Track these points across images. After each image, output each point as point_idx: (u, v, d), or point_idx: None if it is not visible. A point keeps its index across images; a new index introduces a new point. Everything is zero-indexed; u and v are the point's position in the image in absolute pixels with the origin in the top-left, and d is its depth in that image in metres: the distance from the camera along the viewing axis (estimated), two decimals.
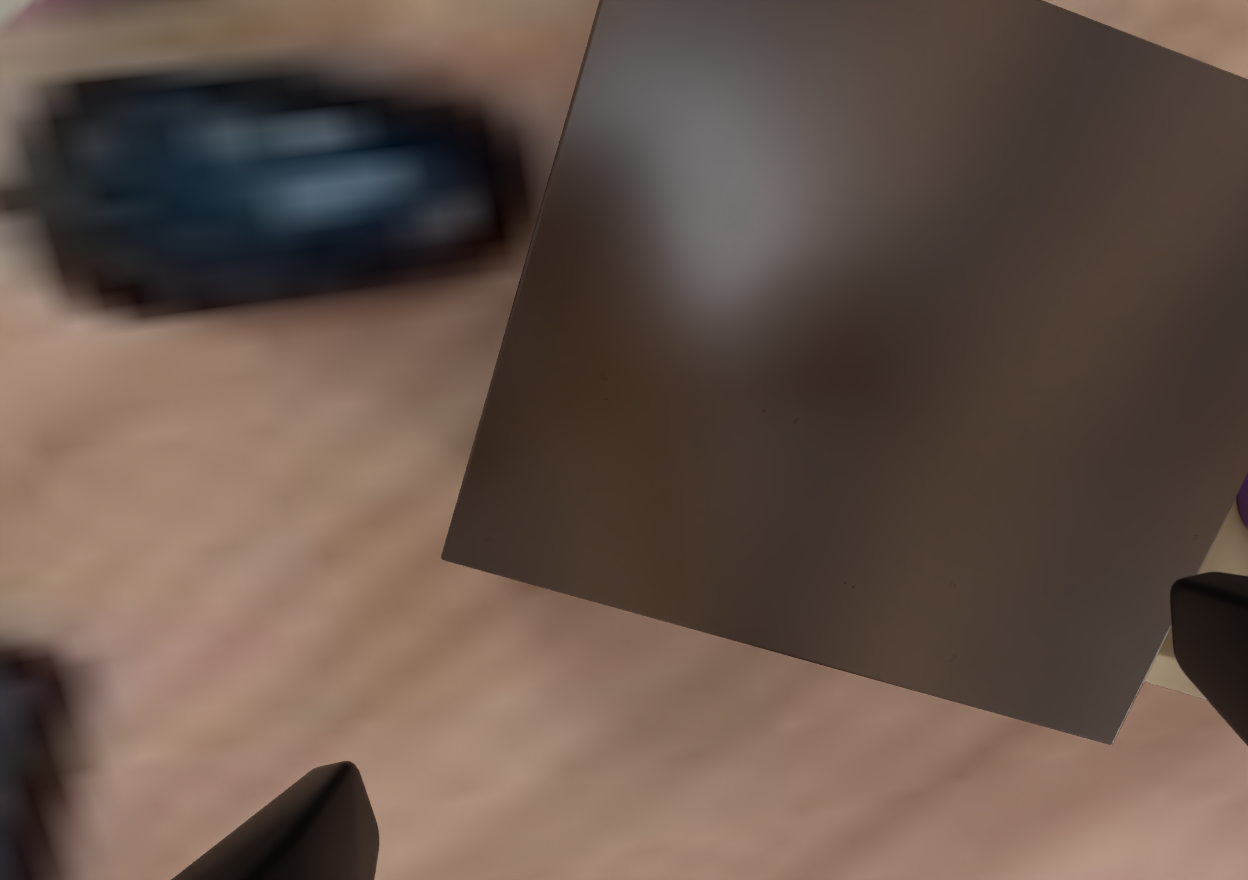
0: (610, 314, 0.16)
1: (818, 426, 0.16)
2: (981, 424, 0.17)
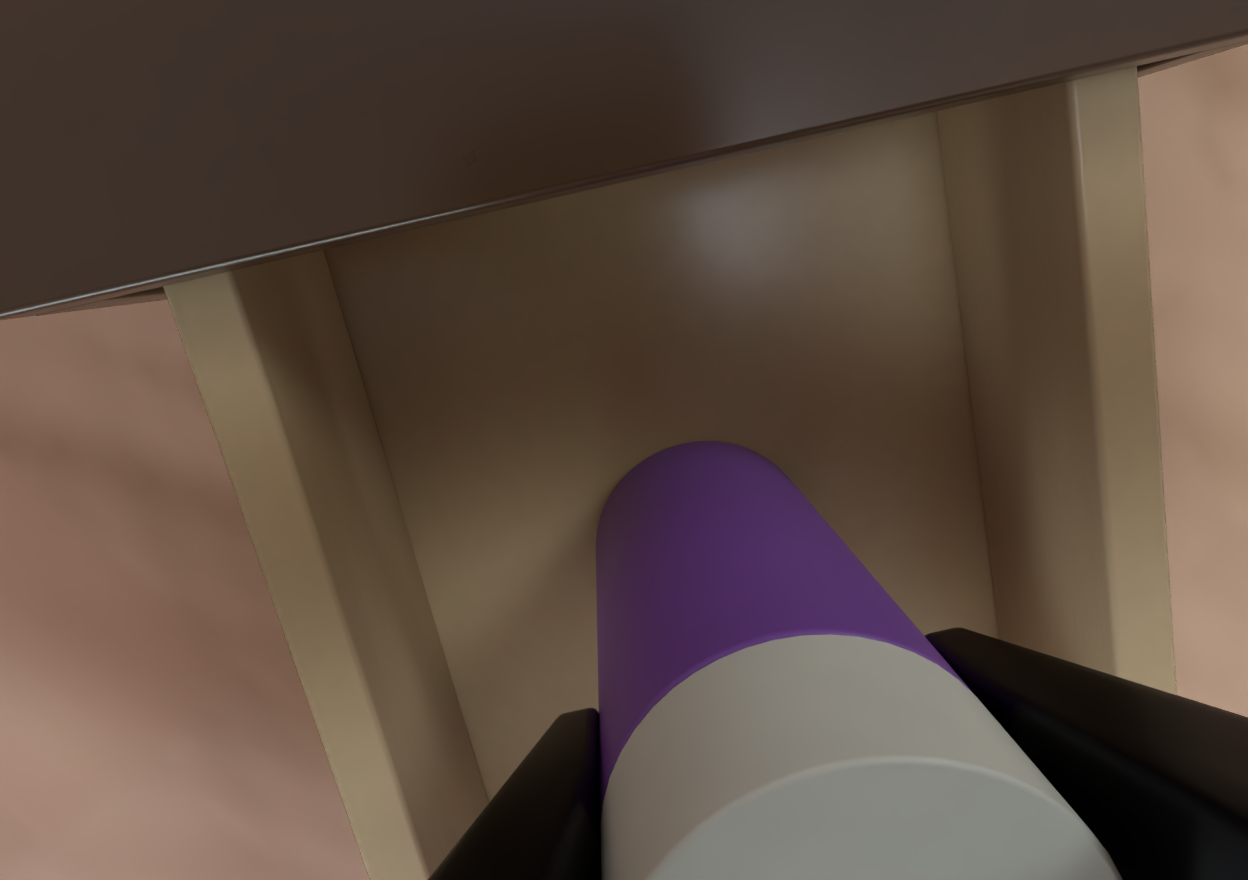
0: None
1: None
2: None
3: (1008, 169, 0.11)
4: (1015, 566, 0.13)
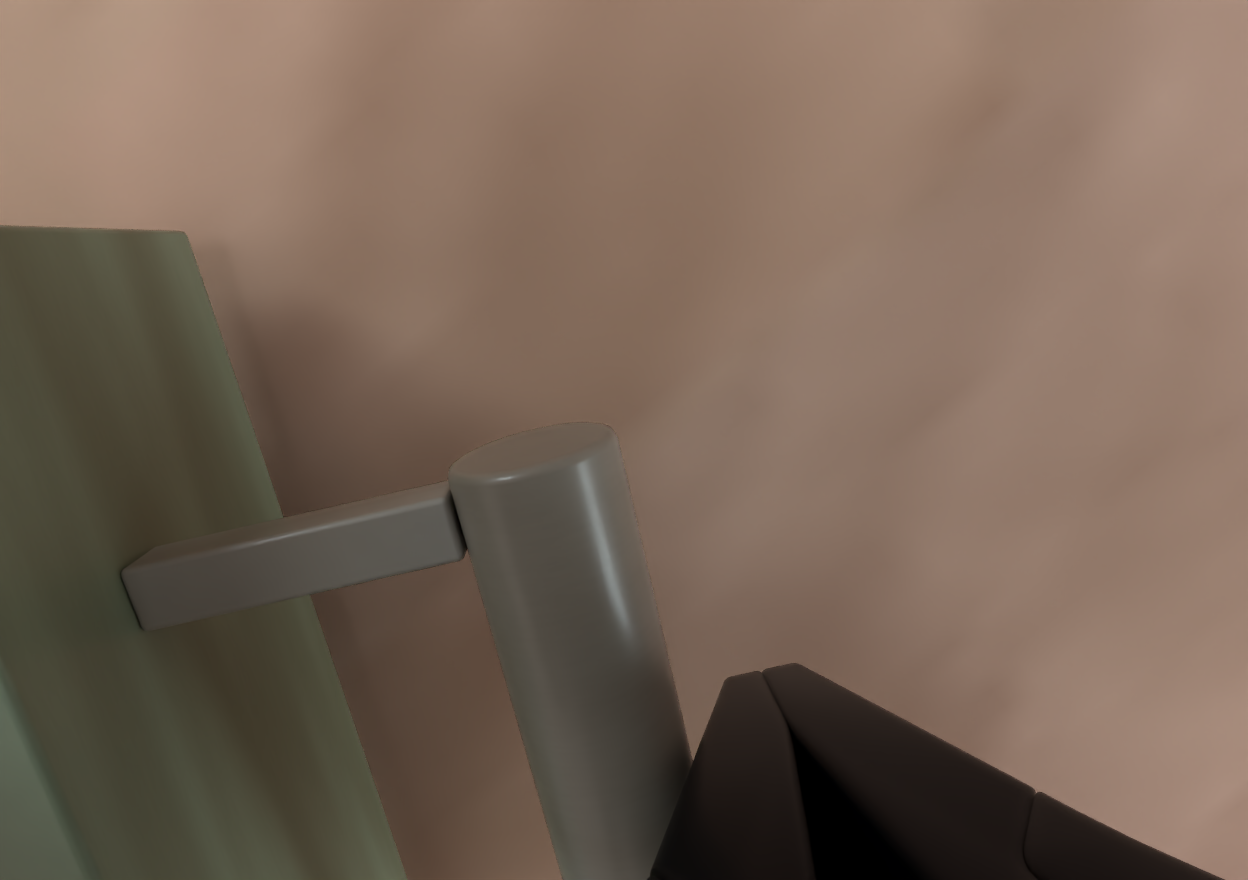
0: None
1: None
2: None
3: None
4: None
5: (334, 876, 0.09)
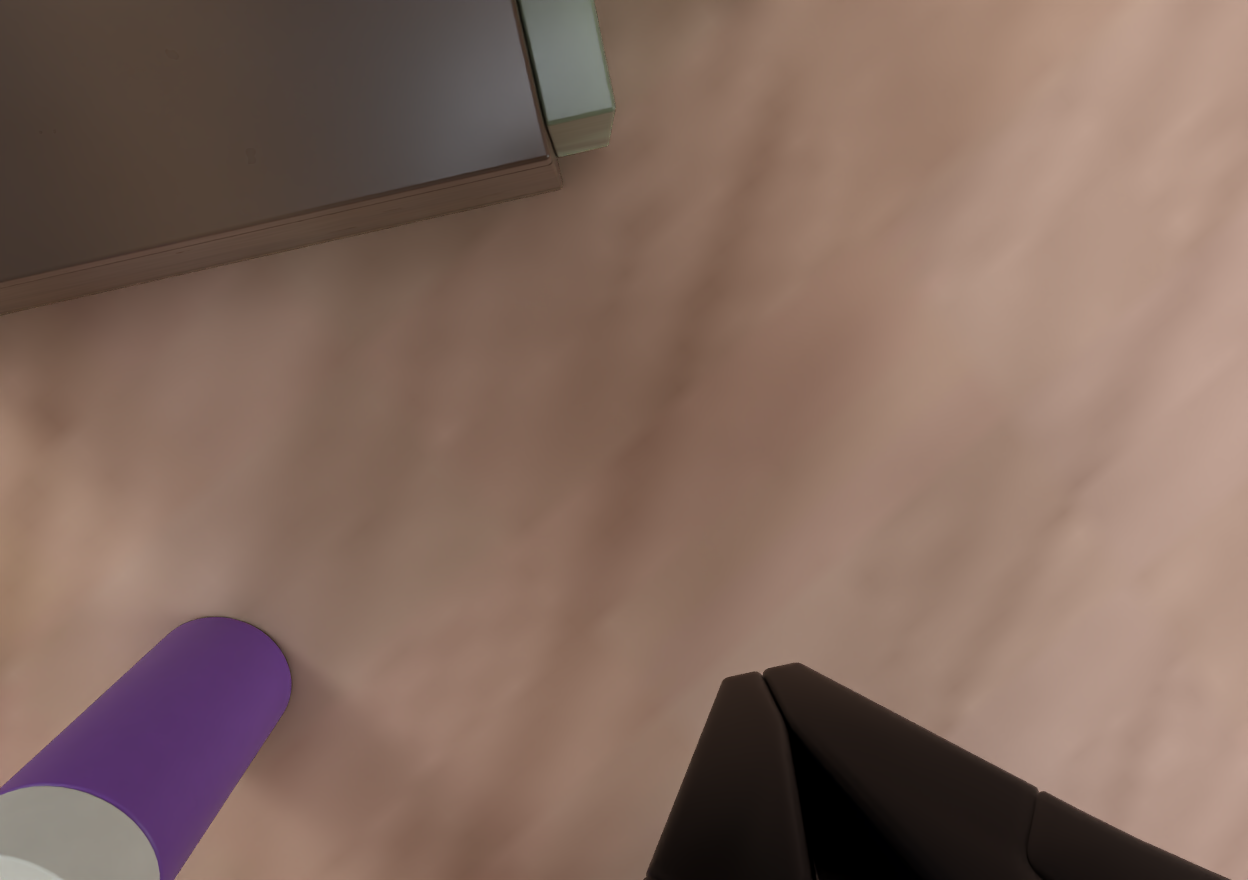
0: None
1: None
2: None
3: None
4: None
5: None
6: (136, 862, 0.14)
